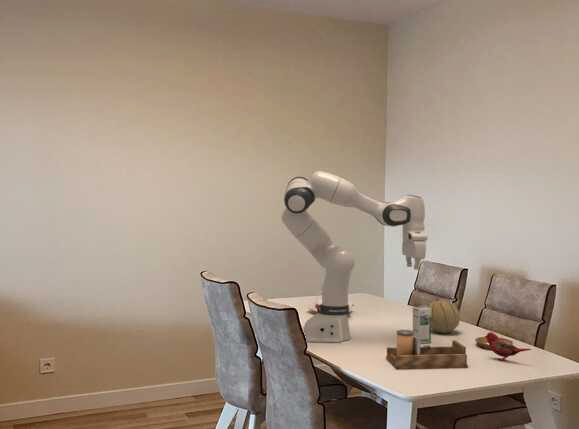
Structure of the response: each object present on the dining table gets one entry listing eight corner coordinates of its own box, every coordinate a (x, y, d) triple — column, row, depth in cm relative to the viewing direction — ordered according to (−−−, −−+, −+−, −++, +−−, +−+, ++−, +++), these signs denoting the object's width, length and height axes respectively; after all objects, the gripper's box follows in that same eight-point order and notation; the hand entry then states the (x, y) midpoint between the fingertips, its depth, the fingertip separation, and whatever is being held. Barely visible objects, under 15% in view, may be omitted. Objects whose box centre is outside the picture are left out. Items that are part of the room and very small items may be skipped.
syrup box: (418, 343, 260) (419, 308, 259) (412, 340, 265) (412, 306, 265) (431, 343, 261) (431, 308, 261) (424, 339, 267) (425, 305, 266)
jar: (399, 363, 226) (399, 333, 226) (393, 359, 232) (394, 329, 232) (415, 363, 227) (416, 333, 226) (409, 358, 233) (410, 329, 233)
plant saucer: (490, 353, 247) (490, 346, 247) (467, 344, 261) (467, 337, 261) (521, 350, 252) (521, 343, 252) (497, 341, 266) (497, 335, 266)
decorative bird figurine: (485, 356, 241) (486, 330, 240) (532, 365, 229) (533, 338, 229) (482, 358, 239) (482, 331, 238) (529, 366, 227) (530, 339, 227)
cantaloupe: (458, 337, 271) (459, 303, 271) (423, 334, 276) (424, 300, 276) (460, 330, 285) (461, 297, 285) (427, 327, 290) (428, 295, 290)
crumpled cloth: (342, 304, 341) (340, 287, 340) (370, 316, 308) (368, 297, 307) (301, 312, 334) (299, 296, 333) (326, 326, 301) (323, 307, 300)
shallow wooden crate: (396, 369, 222) (397, 349, 222) (386, 358, 236) (386, 340, 236) (467, 367, 225) (468, 348, 225) (453, 357, 239) (453, 339, 239)
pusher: (416, 363, 225) (417, 338, 225) (408, 356, 234) (409, 332, 234) (433, 363, 226) (434, 338, 226) (425, 356, 235) (426, 332, 235)
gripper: (398, 232, 269) (398, 265, 269) (413, 236, 249) (412, 271, 249) (413, 232, 270) (412, 265, 270) (429, 236, 249) (428, 271, 250)
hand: (412, 268), depth 259 cm, fingers open, 8 cm apart
